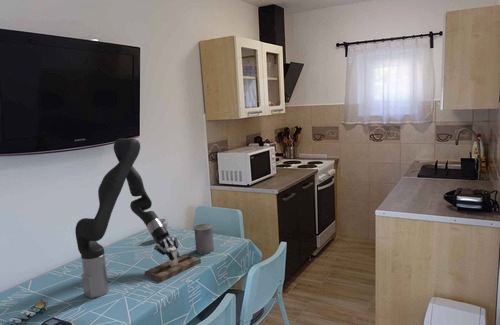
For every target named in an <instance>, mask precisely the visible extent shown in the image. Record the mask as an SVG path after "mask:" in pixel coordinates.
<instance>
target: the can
mask: <svg viewBox="0 0 500 325" xmlns="http://www.w3.org/2000/svg"><path fill="white" fill-rule="evenodd" d="M159 220H160V221H161V222H162V223H163V225H164V227H165V228H166V230H167V231H168V232H169V222H168V220H167V219H166V218H159Z"/></svg>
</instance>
